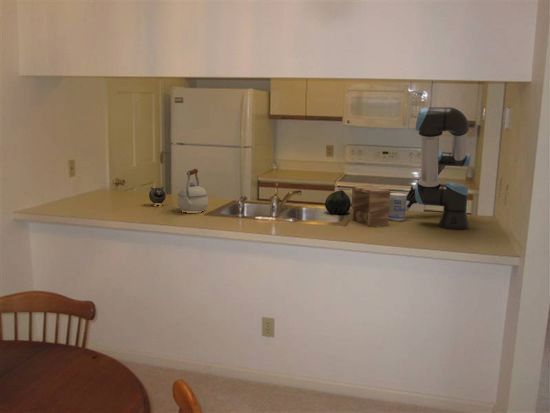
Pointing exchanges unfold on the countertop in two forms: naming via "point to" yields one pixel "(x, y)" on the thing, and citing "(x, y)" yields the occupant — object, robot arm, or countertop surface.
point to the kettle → (192, 195)
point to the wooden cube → (370, 205)
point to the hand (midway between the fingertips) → (403, 211)
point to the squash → (338, 202)
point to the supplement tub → (397, 206)
